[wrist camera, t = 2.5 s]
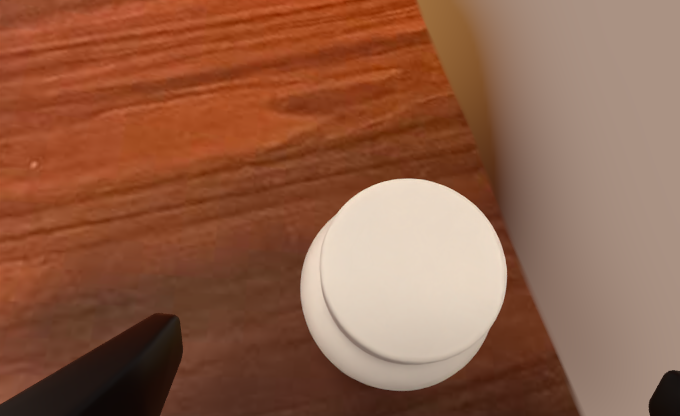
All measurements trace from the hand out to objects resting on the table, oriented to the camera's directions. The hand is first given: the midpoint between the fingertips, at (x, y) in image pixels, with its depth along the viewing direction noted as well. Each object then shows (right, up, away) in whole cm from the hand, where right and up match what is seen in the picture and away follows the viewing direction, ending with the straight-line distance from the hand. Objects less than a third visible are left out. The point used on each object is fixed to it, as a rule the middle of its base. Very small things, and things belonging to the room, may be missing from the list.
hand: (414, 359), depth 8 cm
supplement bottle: (0, -2, +10) cm, 11 cm away
